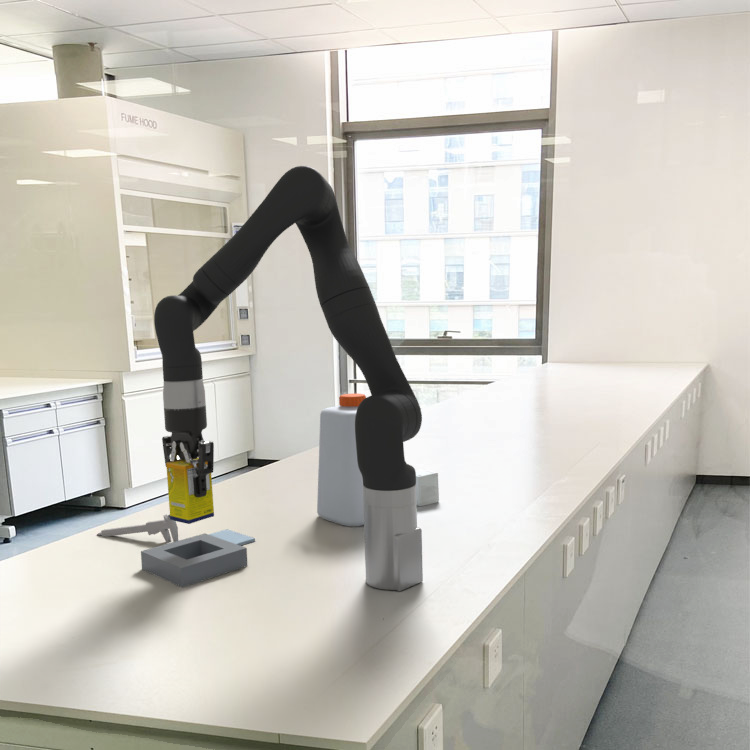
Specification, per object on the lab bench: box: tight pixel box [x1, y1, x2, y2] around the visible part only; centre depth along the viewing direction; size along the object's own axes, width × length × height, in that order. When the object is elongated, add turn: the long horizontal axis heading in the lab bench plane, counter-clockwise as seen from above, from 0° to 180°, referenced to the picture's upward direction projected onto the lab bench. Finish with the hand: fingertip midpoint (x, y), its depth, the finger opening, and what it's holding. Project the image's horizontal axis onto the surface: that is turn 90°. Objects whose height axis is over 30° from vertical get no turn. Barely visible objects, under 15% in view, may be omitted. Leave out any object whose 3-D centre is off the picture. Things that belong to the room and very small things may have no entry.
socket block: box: [140, 533, 248, 588], centre depth 142 cm, size 14×14×4 cm
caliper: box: [96, 513, 179, 544], centre depth 161 cm, size 20×1×6 cm, turn 69°
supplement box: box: [165, 459, 215, 525], centre depth 141 cm, size 6×6×11 cm
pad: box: [207, 529, 256, 546], centre depth 157 cm, size 10×10×1 cm
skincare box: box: [415, 468, 440, 507], centre depth 184 cm, size 6×6×7 cm
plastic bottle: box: [316, 393, 367, 527], centre depth 172 cm, size 15×15×28 cm
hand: (190, 493), depth 141 cm, fingers closed on supplement box, 6 cm apart
